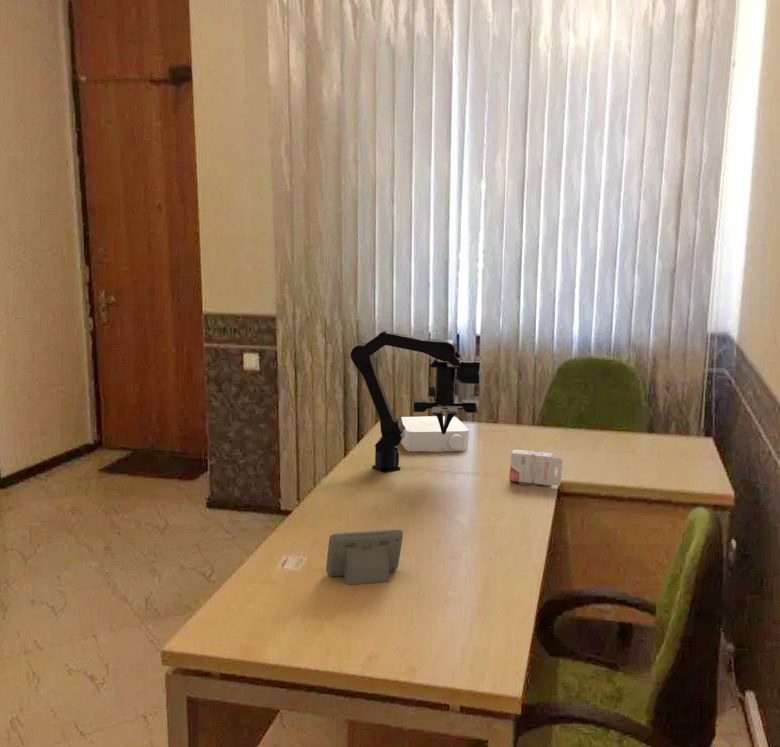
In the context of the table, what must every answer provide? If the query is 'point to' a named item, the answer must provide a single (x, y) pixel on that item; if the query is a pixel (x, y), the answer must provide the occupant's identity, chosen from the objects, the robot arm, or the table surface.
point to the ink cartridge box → (535, 467)
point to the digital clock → (364, 555)
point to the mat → (528, 483)
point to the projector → (434, 435)
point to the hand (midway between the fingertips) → (443, 433)
